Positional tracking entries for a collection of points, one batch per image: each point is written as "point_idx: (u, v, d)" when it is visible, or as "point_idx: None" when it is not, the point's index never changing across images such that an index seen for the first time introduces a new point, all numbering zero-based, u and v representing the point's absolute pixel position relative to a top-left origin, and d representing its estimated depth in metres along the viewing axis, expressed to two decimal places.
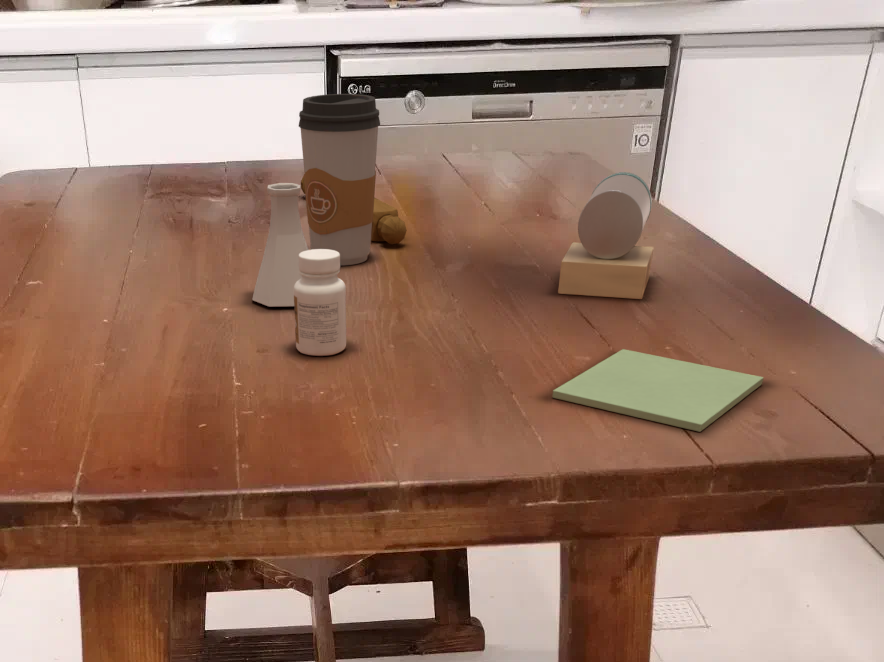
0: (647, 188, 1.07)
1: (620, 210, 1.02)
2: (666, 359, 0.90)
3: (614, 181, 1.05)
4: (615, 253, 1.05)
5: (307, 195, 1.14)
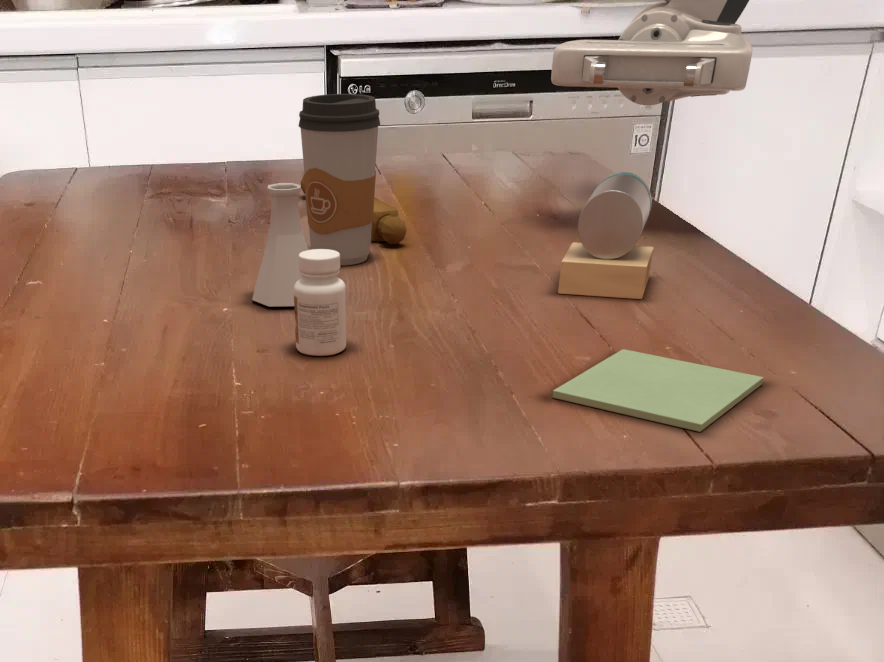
0: (647, 188, 1.07)
1: (620, 210, 1.02)
2: (666, 359, 0.90)
3: (614, 181, 1.05)
4: (615, 253, 1.05)
5: (307, 195, 1.14)
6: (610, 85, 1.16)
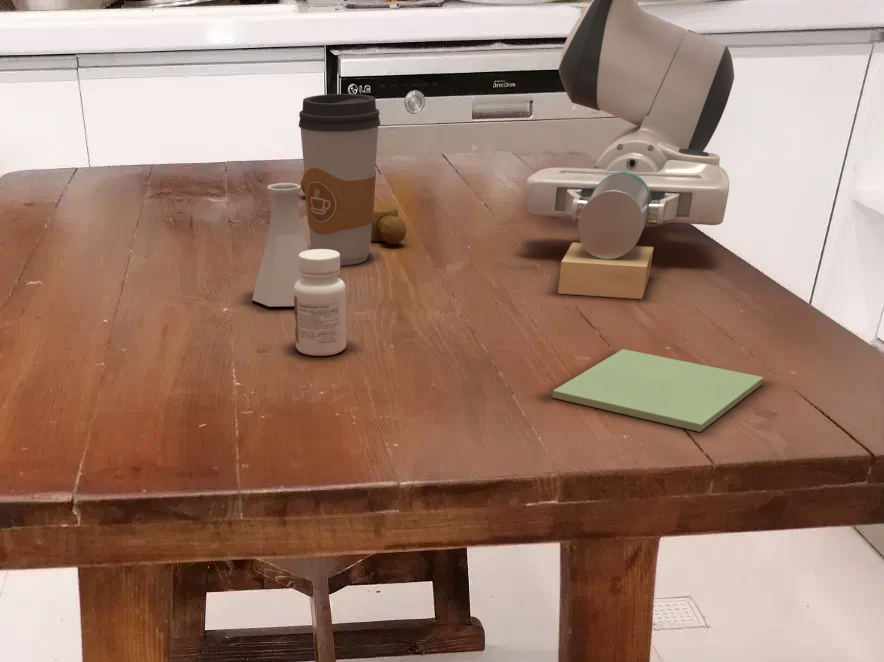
0: (647, 188, 1.08)
1: (621, 210, 1.02)
2: (666, 359, 0.90)
3: (614, 181, 1.05)
4: (615, 253, 1.05)
5: (307, 195, 1.14)
6: None
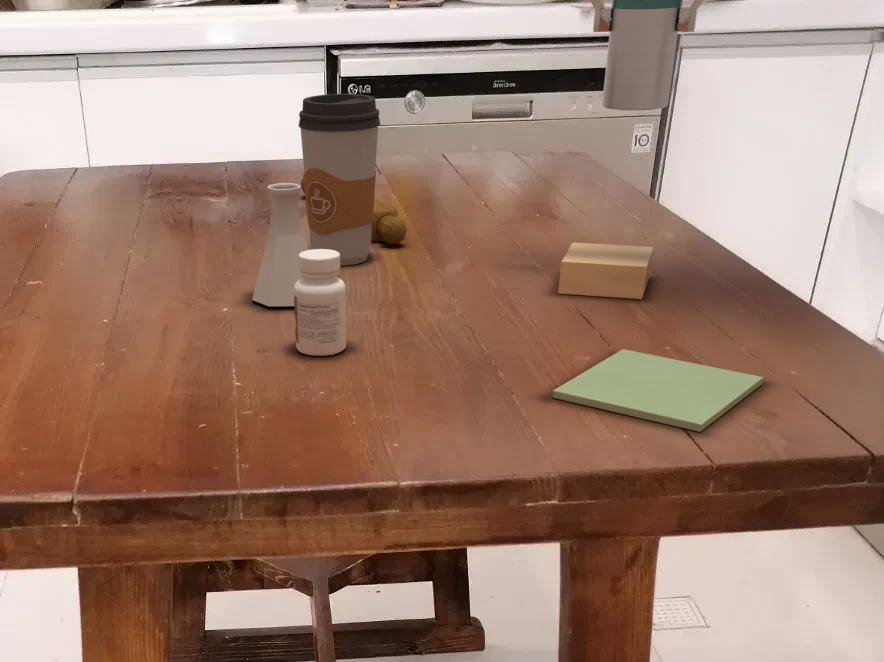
0: (673, 4, 0.96)
1: None
2: (666, 359, 0.90)
3: (632, 54, 0.98)
4: None
5: (307, 195, 1.14)
6: None
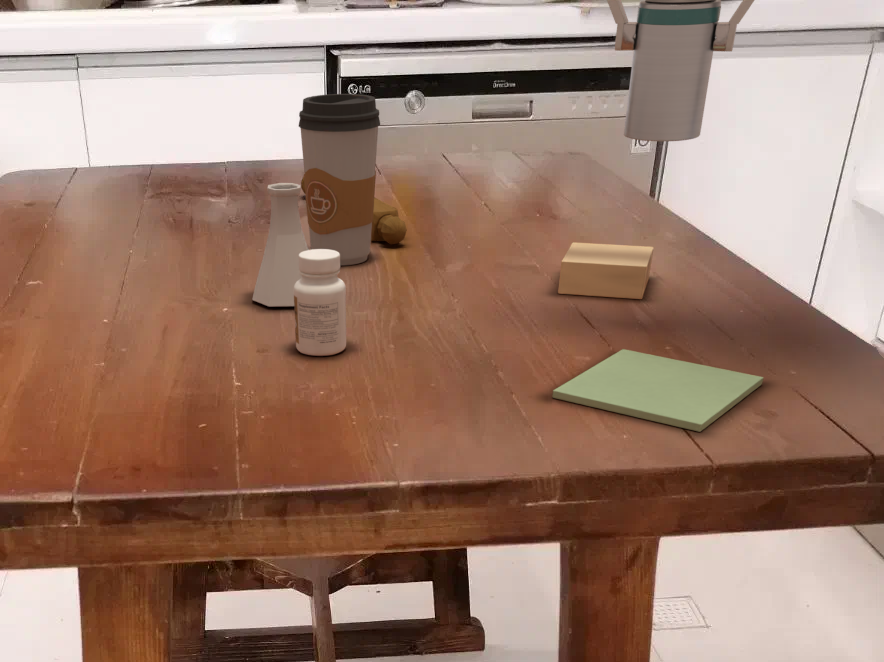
0: (709, 19, 0.82)
1: None
2: (666, 359, 0.90)
3: (660, 76, 0.84)
4: None
5: (307, 195, 1.14)
6: None
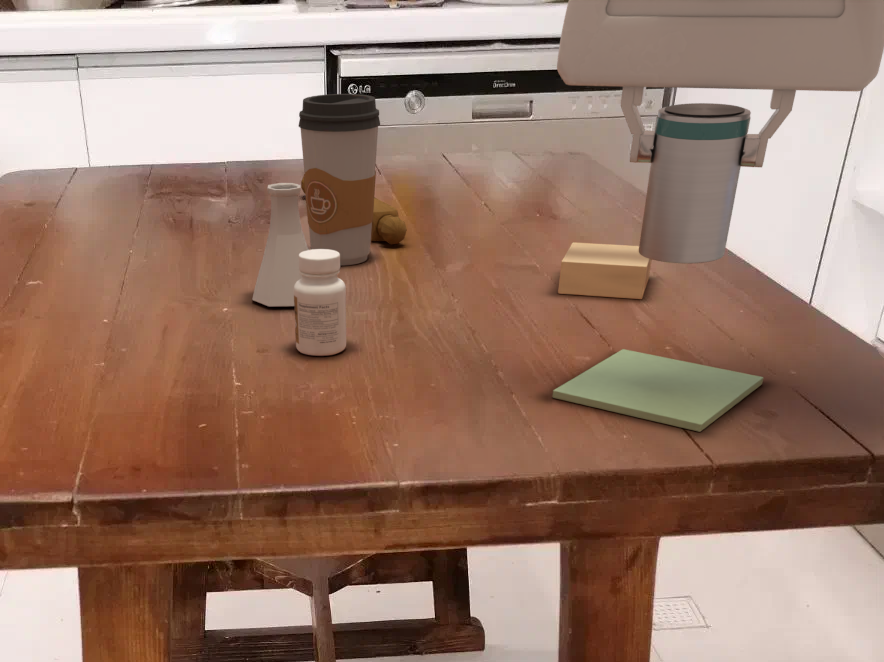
0: (738, 133, 0.73)
1: None
2: (666, 359, 0.90)
3: (681, 194, 0.75)
4: None
5: (307, 195, 1.14)
6: None
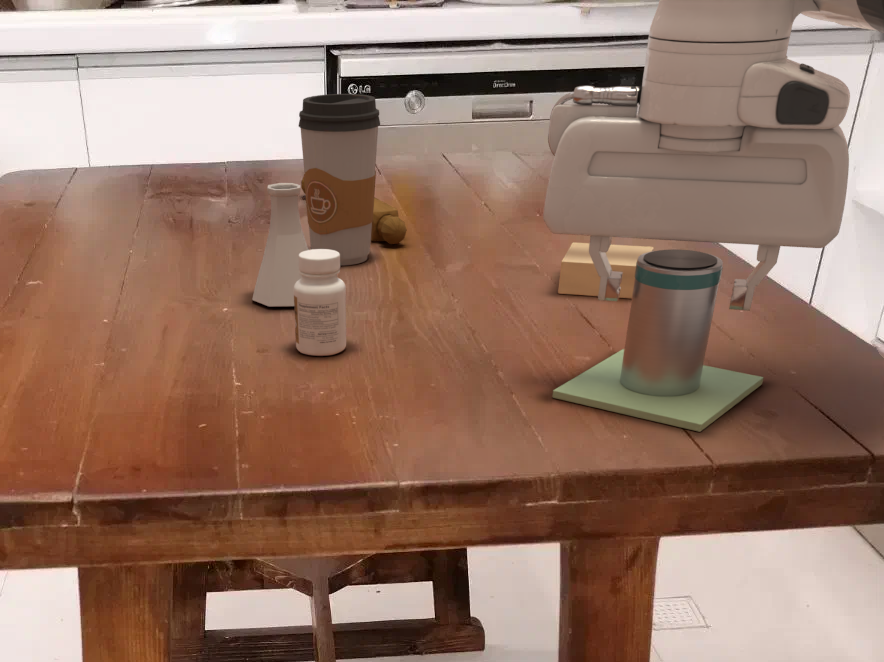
0: (711, 284, 0.78)
1: None
2: None
3: (659, 336, 0.81)
4: None
5: (307, 195, 1.14)
6: None
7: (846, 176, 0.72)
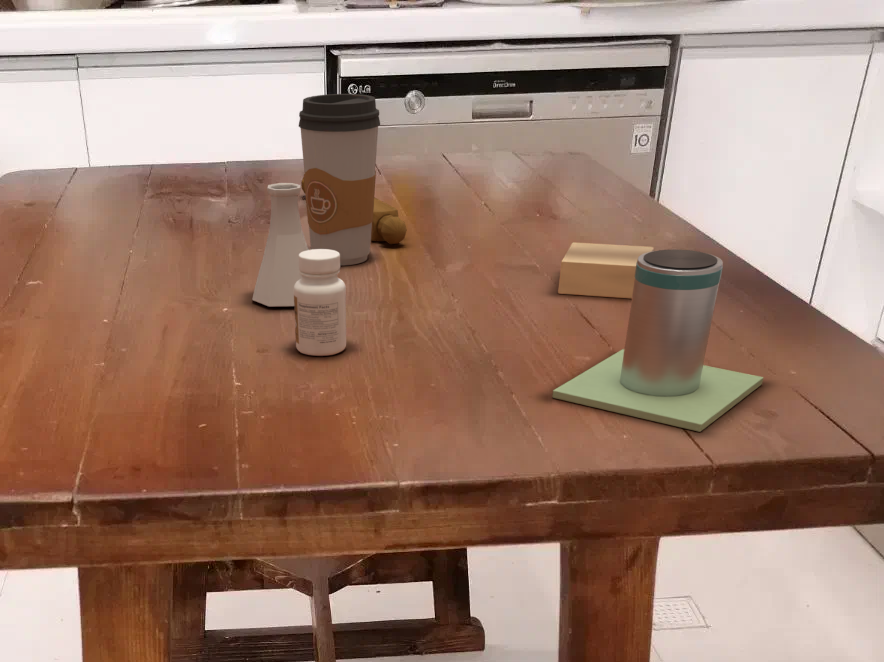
0: (711, 284, 0.78)
1: None
2: None
3: (659, 336, 0.81)
4: None
5: (307, 195, 1.14)
6: None
7: None
